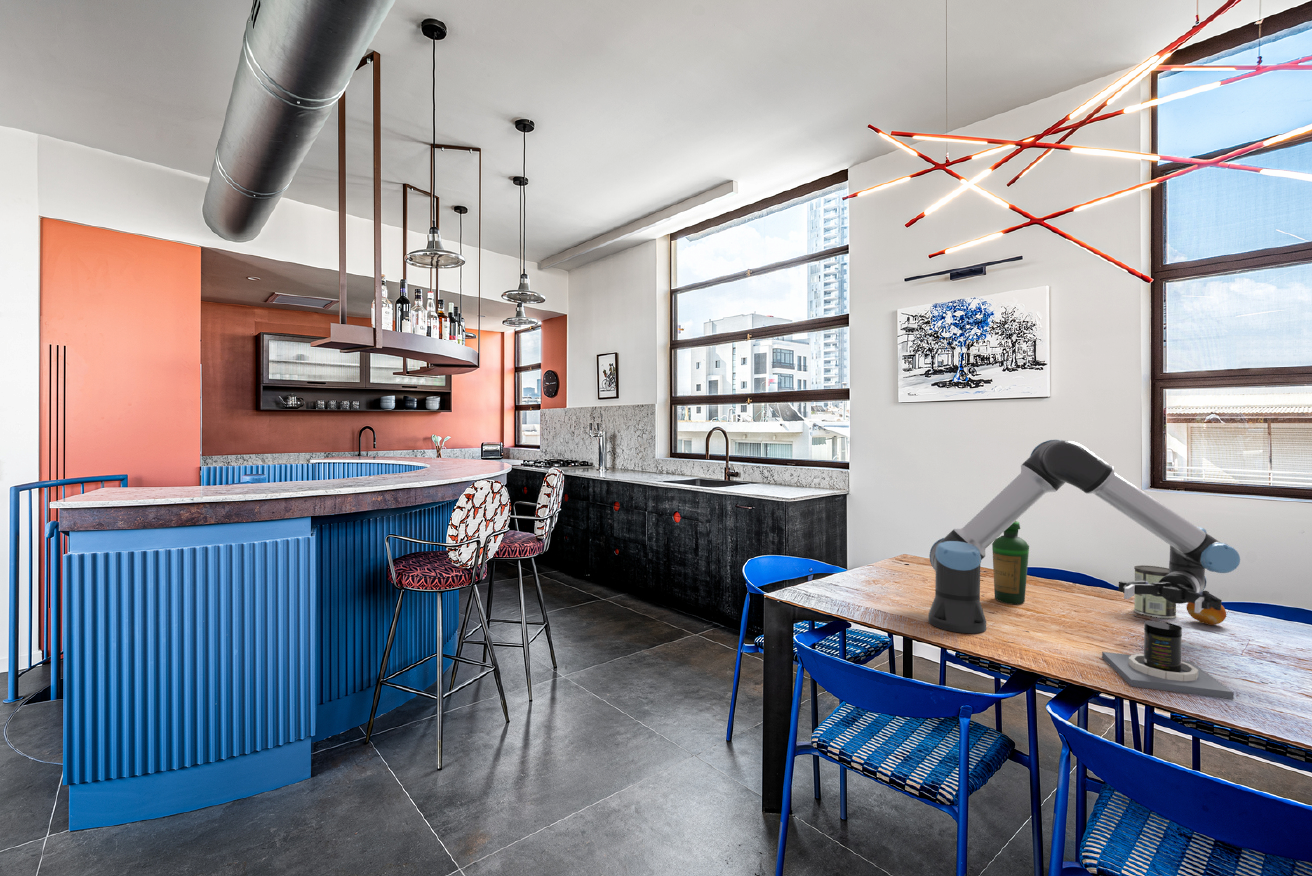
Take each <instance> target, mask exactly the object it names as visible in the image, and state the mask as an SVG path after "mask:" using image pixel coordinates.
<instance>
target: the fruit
mask: <svg viewBox="0 0 1312 876" xmlns="http://www.w3.org/2000/svg"><path fill="white" fill-rule="evenodd" d="M1186 611H1187V613H1188V614H1189V616H1190V617H1191V618H1193V619H1194V620H1196V621H1198V622H1200V623H1202V624H1205V625H1210V626H1213V625H1219V624H1221V623H1223V622H1224V621H1225V620H1226V618H1227V611H1226V609H1225V607H1224V605H1222V604H1221V610H1216V609H1214V608H1212V607H1211V609H1203V610H1202V611H1201V612H1199V613H1195V604H1194V603H1191V602H1187V604H1186Z"/></svg>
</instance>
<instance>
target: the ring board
mask: <svg viewBox="0 0 1312 876" xmlns="http://www.w3.org/2000/svg"><path fill="white" fill-rule="evenodd" d="M1101 658H1102V659H1103V660H1104V661H1105V663H1107V664H1108V665H1109V664H1110V665H1109V666H1110V667H1111V668H1112V669H1113V670H1114V671H1115V672H1116V673H1117V674H1118V675H1119V676H1120V677H1121V678H1122V679H1123V680H1124V681H1125V682H1126V683H1128V685H1129V686H1131V687H1134V688H1141V689H1142V688H1143V689H1151V690H1159V691H1166V692H1173V693H1174V692H1175V693H1181V692H1182V693H1183V694H1190V695H1197V696H1198V695H1200V696H1205V697H1215V698H1221V699H1222V698H1224V699H1229V700H1230V699H1231V700H1234V697H1235V696H1234V694H1235V692H1234V691H1233V690H1232V689H1231V688H1229V687H1227V686H1226V685H1225V684H1223V683H1222V682H1220V681H1219V680H1217V679H1216V678H1215V677H1214V676H1212V675H1211V674H1210V673H1208V672H1206V671H1205V670H1203V669H1202V668H1201V667H1200V666H1198V665H1197V664H1195V663H1194V662H1193V661H1189V660H1182V659H1181V672H1180V673H1178V672H1169V671H1163V670H1159V669H1155V668H1151V667H1148V666H1146V665H1144V653H1138V654H1137V653H1134V654H1127V653H1119V652H1118V653H1116V652H1108V651H1102V652H1101Z"/></svg>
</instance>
